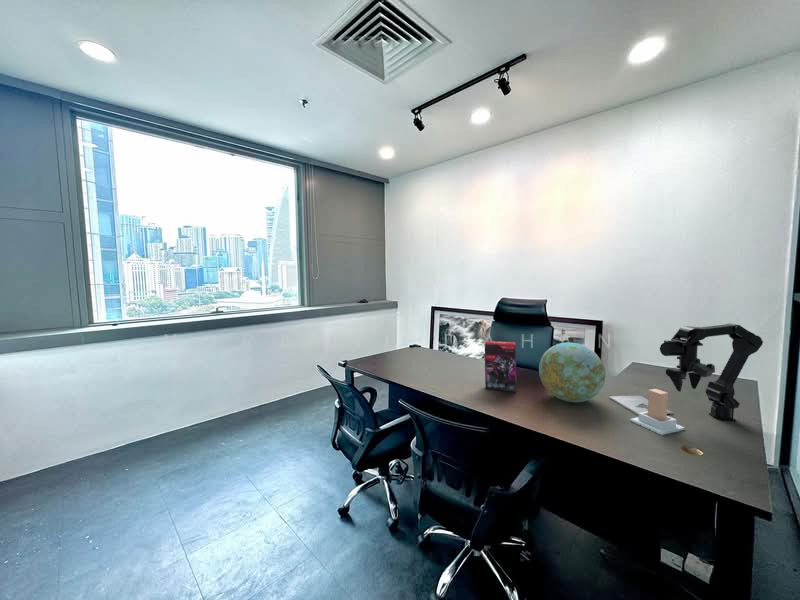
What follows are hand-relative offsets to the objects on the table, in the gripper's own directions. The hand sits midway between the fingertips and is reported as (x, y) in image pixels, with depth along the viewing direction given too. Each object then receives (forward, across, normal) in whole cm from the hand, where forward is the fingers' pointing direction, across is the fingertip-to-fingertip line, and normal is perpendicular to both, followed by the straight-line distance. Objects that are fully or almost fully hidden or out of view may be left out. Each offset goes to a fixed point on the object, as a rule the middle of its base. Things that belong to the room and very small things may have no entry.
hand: (686, 389), depth 142 cm
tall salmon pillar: (+12, -18, 0) cm, 21 cm away
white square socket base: (+13, -18, 0) cm, 22 cm away
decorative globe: (+13, -31, +33) cm, 47 cm away
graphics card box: (+13, -55, +59) cm, 82 cm away
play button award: (+14, -6, +16) cm, 22 cm away
